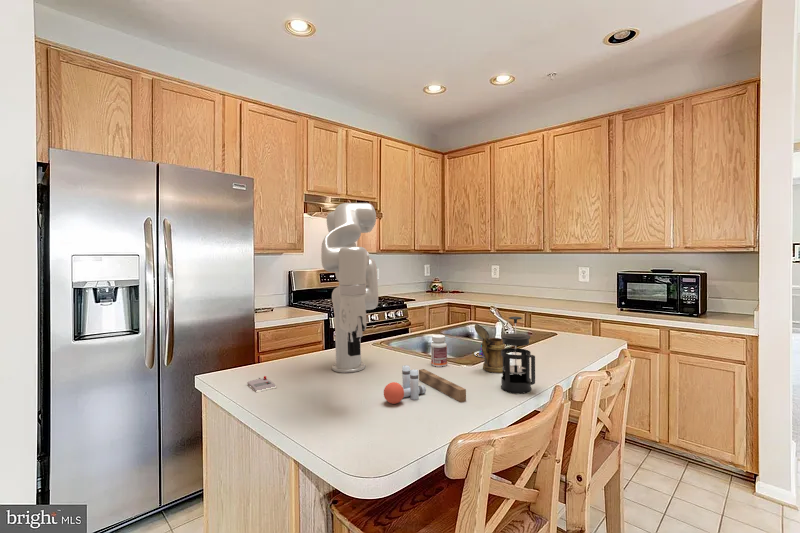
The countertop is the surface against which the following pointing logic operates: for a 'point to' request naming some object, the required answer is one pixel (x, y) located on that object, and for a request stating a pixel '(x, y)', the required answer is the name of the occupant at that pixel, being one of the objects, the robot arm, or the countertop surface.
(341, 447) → the countertop surface
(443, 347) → the pill bottle
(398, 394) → the ball
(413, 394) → the pin
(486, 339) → the wooden mug
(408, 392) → the front pin
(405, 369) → the pin
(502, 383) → the french press
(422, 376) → the back wall
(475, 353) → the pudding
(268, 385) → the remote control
